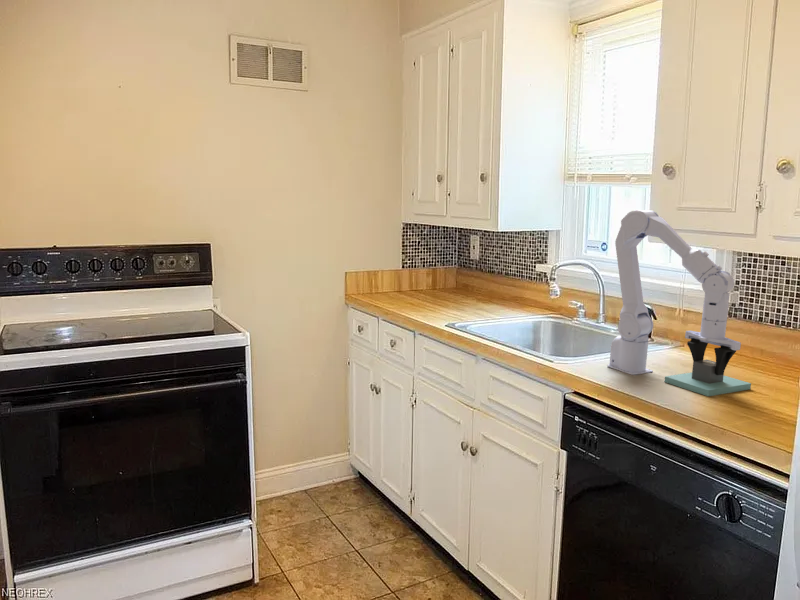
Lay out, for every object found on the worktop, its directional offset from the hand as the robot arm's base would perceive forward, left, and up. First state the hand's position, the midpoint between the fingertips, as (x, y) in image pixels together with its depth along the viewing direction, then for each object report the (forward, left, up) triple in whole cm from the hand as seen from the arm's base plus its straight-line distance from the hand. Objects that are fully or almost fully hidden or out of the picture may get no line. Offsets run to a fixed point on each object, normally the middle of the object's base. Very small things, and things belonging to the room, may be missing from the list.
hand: (708, 371), depth 165 cm
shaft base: (0, 0, -4) cm, 4 cm away
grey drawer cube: (0, 0, -2) cm, 2 cm away
